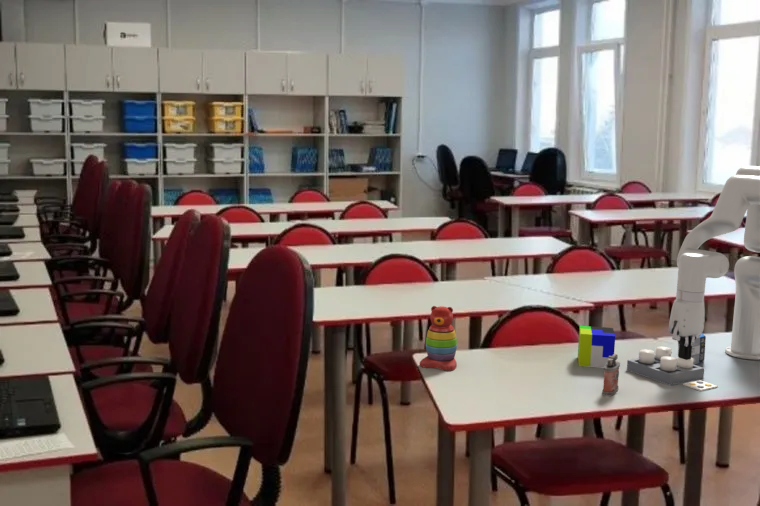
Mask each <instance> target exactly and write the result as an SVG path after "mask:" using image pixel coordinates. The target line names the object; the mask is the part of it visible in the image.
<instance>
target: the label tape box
mask: <svg viewBox="0 0 760 506" xmlns="http://www.w3.org/2000/svg"><path fill="white" fill-rule="evenodd" d="M706 338H707V337H706V334H705V335H704V334H703V332H702V333H701V336H700V337H698V338H696V339H695V341H694V345H693V346H692V353H691V358H693V365H698V364H701V363H704V362H705V357H706V355H705V353H706ZM677 344H678V343H677ZM678 354H679V344H678V346H677V355H678Z"/></svg>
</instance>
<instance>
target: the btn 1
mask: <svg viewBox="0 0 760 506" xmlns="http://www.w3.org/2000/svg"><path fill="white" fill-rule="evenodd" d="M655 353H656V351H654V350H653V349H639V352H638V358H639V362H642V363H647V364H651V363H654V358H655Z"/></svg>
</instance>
